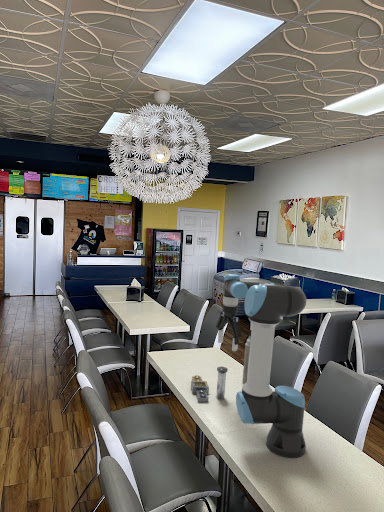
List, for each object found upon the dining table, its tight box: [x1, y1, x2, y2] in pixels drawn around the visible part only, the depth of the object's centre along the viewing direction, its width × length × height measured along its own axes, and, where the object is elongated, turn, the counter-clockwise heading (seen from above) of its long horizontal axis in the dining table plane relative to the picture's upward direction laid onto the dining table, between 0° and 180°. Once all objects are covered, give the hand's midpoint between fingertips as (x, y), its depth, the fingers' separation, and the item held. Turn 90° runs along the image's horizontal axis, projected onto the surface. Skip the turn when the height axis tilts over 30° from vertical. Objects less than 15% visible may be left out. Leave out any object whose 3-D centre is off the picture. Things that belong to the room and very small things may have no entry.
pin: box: [216, 366, 229, 400], centre depth 196 cm, size 5×5×15 cm
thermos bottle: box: [241, 333, 251, 385], centre depth 216 cm, size 8×8×28 cm
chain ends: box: [190, 374, 210, 403], centre depth 204 cm, size 27×8×4 cm, turn 7°
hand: (227, 346), depth 198 cm, fingers open, 13 cm apart
